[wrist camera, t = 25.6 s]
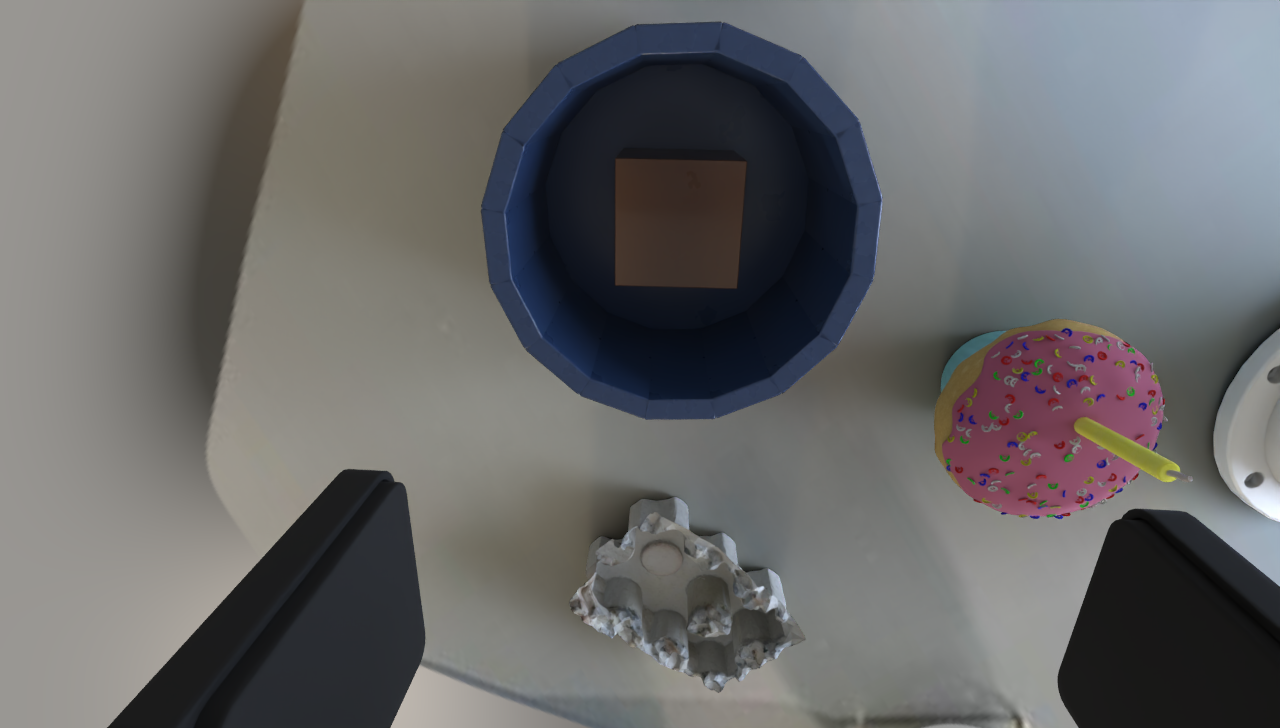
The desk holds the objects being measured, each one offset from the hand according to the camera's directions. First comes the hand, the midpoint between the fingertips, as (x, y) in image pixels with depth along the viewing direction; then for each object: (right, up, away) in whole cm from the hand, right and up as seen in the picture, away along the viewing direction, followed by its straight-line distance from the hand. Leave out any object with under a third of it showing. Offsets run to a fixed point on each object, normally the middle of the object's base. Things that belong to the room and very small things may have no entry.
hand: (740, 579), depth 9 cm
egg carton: (+1, -8, +27) cm, 28 cm away
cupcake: (+15, +2, +22) cm, 27 cm away
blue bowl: (0, +10, +19) cm, 22 cm away
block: (0, +10, +19) cm, 21 cm away
